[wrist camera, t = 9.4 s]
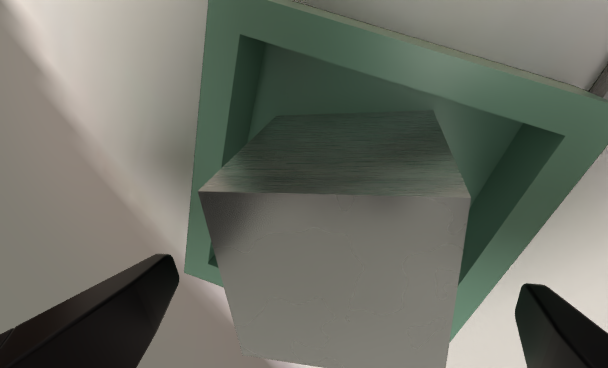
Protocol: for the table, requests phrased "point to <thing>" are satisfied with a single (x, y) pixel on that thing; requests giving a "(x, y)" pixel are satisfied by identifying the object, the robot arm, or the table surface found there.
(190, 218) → the tray
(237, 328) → the grey metal cube
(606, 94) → the stud plate
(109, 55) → the table surface
